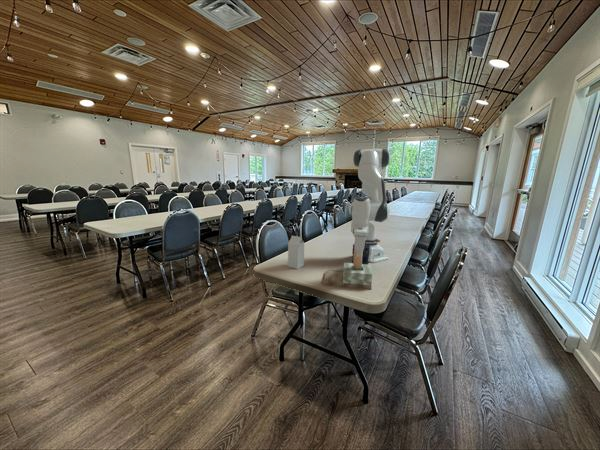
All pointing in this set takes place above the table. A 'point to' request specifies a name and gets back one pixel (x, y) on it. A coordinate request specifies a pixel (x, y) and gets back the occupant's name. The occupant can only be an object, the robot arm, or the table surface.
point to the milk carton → (296, 252)
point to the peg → (357, 259)
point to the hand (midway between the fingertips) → (358, 254)
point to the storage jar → (364, 254)
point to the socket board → (339, 280)
